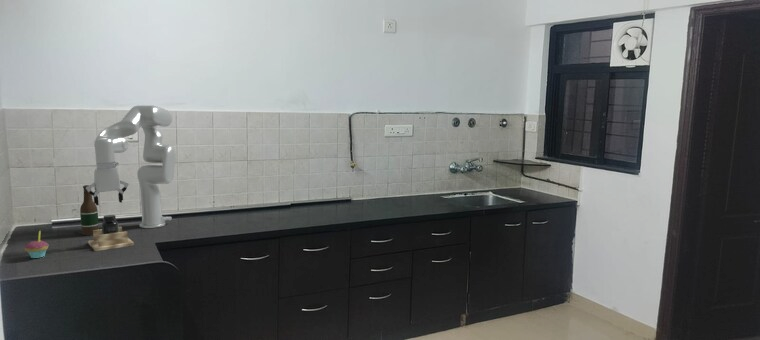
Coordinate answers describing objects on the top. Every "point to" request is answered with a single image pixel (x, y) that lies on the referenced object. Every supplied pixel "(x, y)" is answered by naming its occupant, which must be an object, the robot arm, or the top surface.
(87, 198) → the beer bottle
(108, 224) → the supplement bottle
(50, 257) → the top surface
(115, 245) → the holder
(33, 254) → the cupcake
